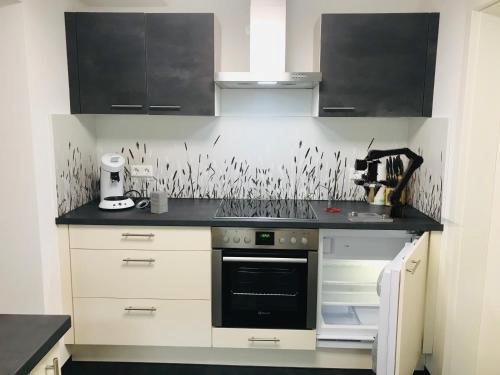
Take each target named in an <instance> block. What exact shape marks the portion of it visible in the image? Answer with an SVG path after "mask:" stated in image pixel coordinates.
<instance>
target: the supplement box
mask: <svg viewBox="0 0 500 375" xmlns="http://www.w3.org/2000/svg"><path fill="white" fill-rule="evenodd" d="M168 201H169V200H168V191H165V190H155V191H150V213H152V214H153V213H154V214H159V215H160V214H163V213H168V211H169V209H168V208H169V206H168V203H169V202H168Z"/></svg>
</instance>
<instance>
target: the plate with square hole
mask: <svg viewBox="0 0 500 375" xmlns="http://www.w3.org/2000/svg"><path fill="white" fill-rule="evenodd" d="M347 219H348V220H349V221H351V222H353V223H394V222H393V221H394V219H393V218H392V217H391V216H389V215H388V214H386V213H383V214H382V215H380V214H378V213H376V212H358V211H351V212H347Z"/></svg>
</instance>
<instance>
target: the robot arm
mask: <svg viewBox="0 0 500 375" xmlns="http://www.w3.org/2000/svg"><path fill="white" fill-rule="evenodd" d="M402 155H404V156H405V157H406V158H407V159H408V163H407V168H406V170H405V171H404V172H403V174H402V176H401V178H400V179H399V181H398V183H397V185H396V186H395V187H394V188H393V189H389V191H388V193H387V194H386V201H387V202H388V204H389V208H388V214H387V215H389V217H390V218H400V219H401V218H404V216H403V207H404V204H403V202H402V201H401V199H402V195H403V191H404V190H405V188H406V187H407V185H408V183H409V182H410V179H411V178H412V176H413V174H414V173H415V172H416V171H417V170H418V169H419V168H420V167H421V166H422V164H423V163H424V162H425V161H424V158H423V157H424V156H422V155H419V154H418V153H416V152H414V151H413V150H412V149H410V147H405V146H404V147H400V148H399V147H398V148H392V149H373V148H372V149H370V150H368V152H367V155H366V156H365V157H364V159H359V158H355V163H354V164H353V165H354V166H353V167H354V171H356V172H359V171H360V172H361V171H362V172H363V171H366V170H367V172H366V174H365V173H361V175H360V176H361V177H360V179H355V181H354V185H356V186H361V187H363V189H364V191H365V195H366V198H367V197H368V192H369V187H370V186H369V185H374V187H375V197H374V198H376V196H377V195H378V193H379V192H380V189H381V188H383V187H388V186H390V181H389V180H387V179H379V180H378V176H379V164H382V161H381V160H380V159H382V158H385V157H394V156H395V157H396V156H402Z"/></svg>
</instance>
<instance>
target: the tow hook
mask: <svg viewBox="0 0 500 375" xmlns="http://www.w3.org/2000/svg"><path fill="white" fill-rule="evenodd" d="M331 200H332V191H330V190H329V194H328V203H327V207H326V208H324V211H325V212H329V213H340V211H341V210H340V209H338V208H333V207H331V205H332V204H331V202H332V201H331Z"/></svg>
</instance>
